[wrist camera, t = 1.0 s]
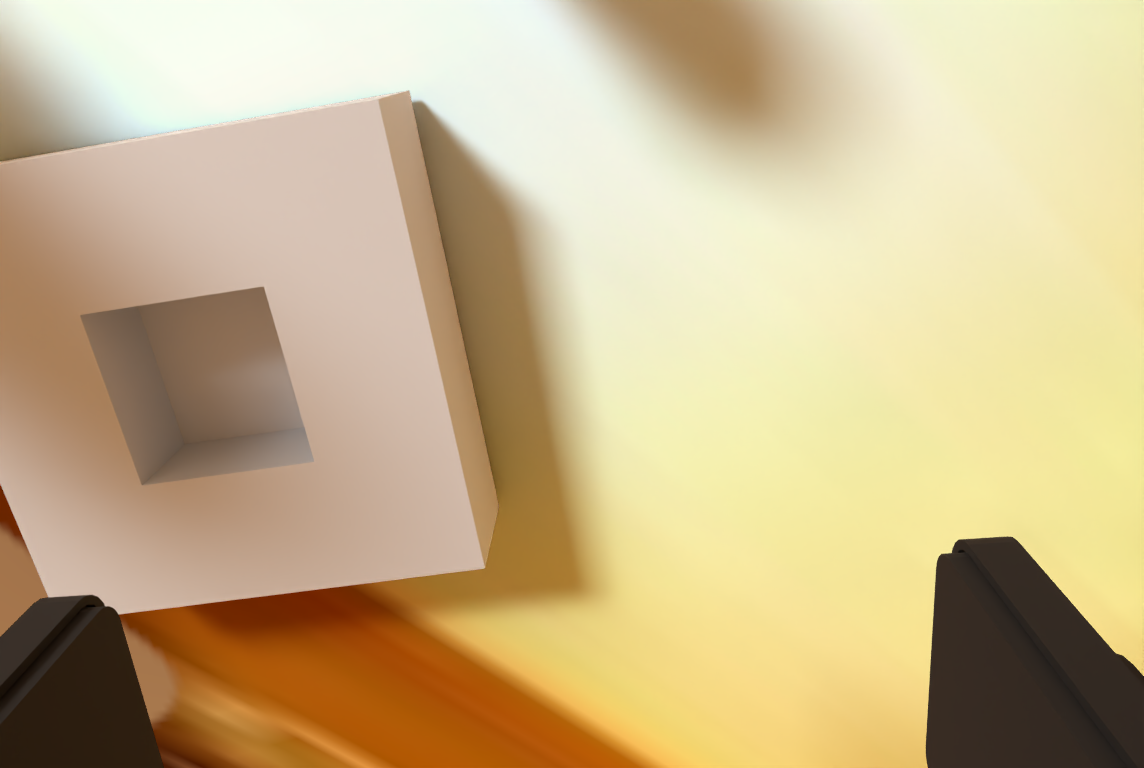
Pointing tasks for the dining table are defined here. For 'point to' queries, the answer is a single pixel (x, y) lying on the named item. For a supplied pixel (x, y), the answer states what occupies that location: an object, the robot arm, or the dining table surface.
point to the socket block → (237, 363)
